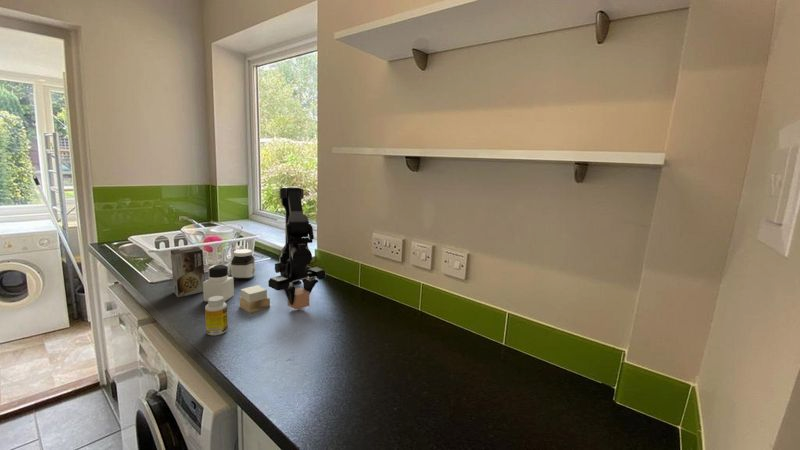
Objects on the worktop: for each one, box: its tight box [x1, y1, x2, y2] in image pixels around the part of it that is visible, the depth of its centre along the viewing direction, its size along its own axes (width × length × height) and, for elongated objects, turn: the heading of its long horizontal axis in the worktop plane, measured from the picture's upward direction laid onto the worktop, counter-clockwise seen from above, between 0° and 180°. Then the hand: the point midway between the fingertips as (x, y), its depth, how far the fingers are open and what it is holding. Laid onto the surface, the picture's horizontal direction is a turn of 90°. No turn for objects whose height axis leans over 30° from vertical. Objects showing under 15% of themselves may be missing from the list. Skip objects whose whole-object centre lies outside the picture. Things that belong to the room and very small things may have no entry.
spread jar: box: [227, 248, 256, 282], centre depth 146 cm, size 12×11×12 cm
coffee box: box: [170, 246, 206, 298], centre depth 127 cm, size 9×6×16 cm
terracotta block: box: [287, 287, 310, 311], centre depth 117 cm, size 5×5×5 cm
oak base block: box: [239, 296, 271, 314], centre depth 118 cm, size 7×7×4 cm
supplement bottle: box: [204, 296, 229, 336], centre depth 100 cm, size 6×6×10 cm
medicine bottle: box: [202, 264, 235, 303], centre depth 123 cm, size 7×7×12 cm
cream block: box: [240, 284, 268, 303], centre depth 118 cm, size 6×6×3 cm
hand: (298, 302), depth 117 cm, fingers closed on terracotta block, 5 cm apart
